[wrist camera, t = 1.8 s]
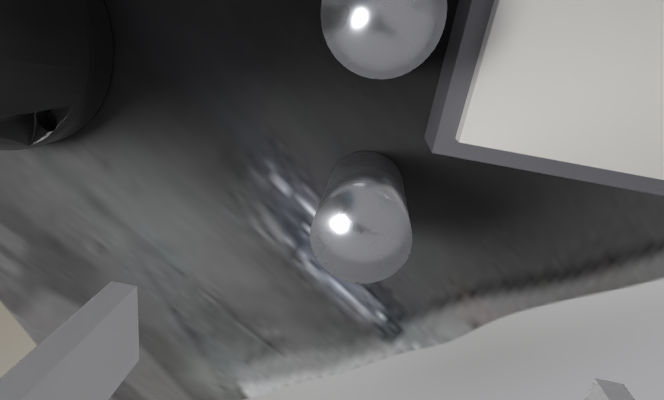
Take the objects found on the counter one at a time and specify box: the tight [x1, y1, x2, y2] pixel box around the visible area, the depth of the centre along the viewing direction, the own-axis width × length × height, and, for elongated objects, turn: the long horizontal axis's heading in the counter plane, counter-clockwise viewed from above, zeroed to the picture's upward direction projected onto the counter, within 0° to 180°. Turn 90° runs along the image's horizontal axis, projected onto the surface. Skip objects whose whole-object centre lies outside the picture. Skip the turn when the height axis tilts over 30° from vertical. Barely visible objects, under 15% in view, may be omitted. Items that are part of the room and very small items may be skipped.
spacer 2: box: [310, 151, 412, 283], centre depth 23 cm, size 5×5×8 cm
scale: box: [424, 0, 664, 196], centre depth 20 cm, size 15×17×5 cm
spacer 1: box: [321, 0, 447, 79], centre depth 20 cm, size 5×5×8 cm
